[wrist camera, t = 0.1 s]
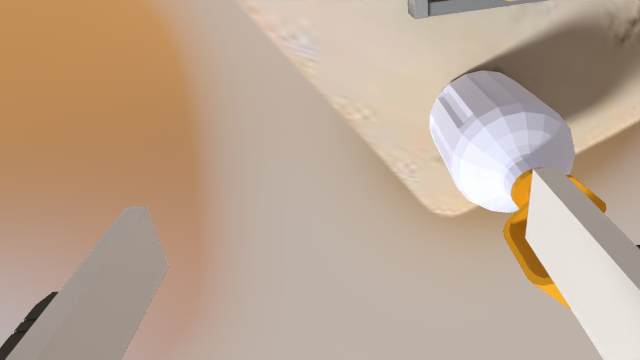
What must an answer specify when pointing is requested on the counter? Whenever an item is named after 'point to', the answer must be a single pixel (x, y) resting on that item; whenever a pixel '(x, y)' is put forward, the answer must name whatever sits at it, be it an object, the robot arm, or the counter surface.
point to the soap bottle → (503, 153)
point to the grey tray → (455, 6)
